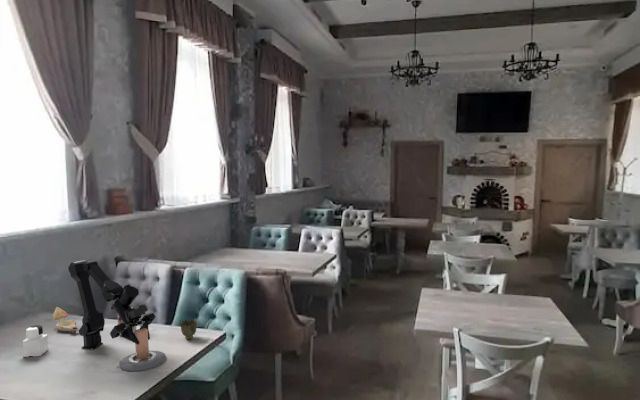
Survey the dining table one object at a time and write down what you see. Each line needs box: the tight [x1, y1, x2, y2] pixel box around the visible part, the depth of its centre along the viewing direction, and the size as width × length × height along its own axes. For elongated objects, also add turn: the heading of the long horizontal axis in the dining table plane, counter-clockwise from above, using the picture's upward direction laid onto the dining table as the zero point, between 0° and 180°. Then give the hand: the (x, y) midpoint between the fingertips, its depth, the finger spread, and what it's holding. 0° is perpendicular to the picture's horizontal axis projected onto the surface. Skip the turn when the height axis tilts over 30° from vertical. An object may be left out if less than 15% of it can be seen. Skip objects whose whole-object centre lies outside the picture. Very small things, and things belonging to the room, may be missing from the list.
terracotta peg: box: [134, 328, 150, 359], centre depth 183 cm, size 5×5×11 cm
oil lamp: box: [52, 306, 79, 333], centre depth 222 cm, size 9×21×10 cm, turn 51°
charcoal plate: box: [118, 350, 167, 373], centre depth 184 cm, size 18×18×1 cm
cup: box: [179, 319, 198, 341], centre depth 207 cm, size 8×7×8 cm
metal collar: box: [129, 352, 156, 366], centre depth 184 cm, size 11×11×1 cm
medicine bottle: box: [21, 324, 49, 358], centre depth 194 cm, size 7×7×12 cm
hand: (143, 341), depth 183 cm, fingers closed on terracotta peg, 5 cm apart
